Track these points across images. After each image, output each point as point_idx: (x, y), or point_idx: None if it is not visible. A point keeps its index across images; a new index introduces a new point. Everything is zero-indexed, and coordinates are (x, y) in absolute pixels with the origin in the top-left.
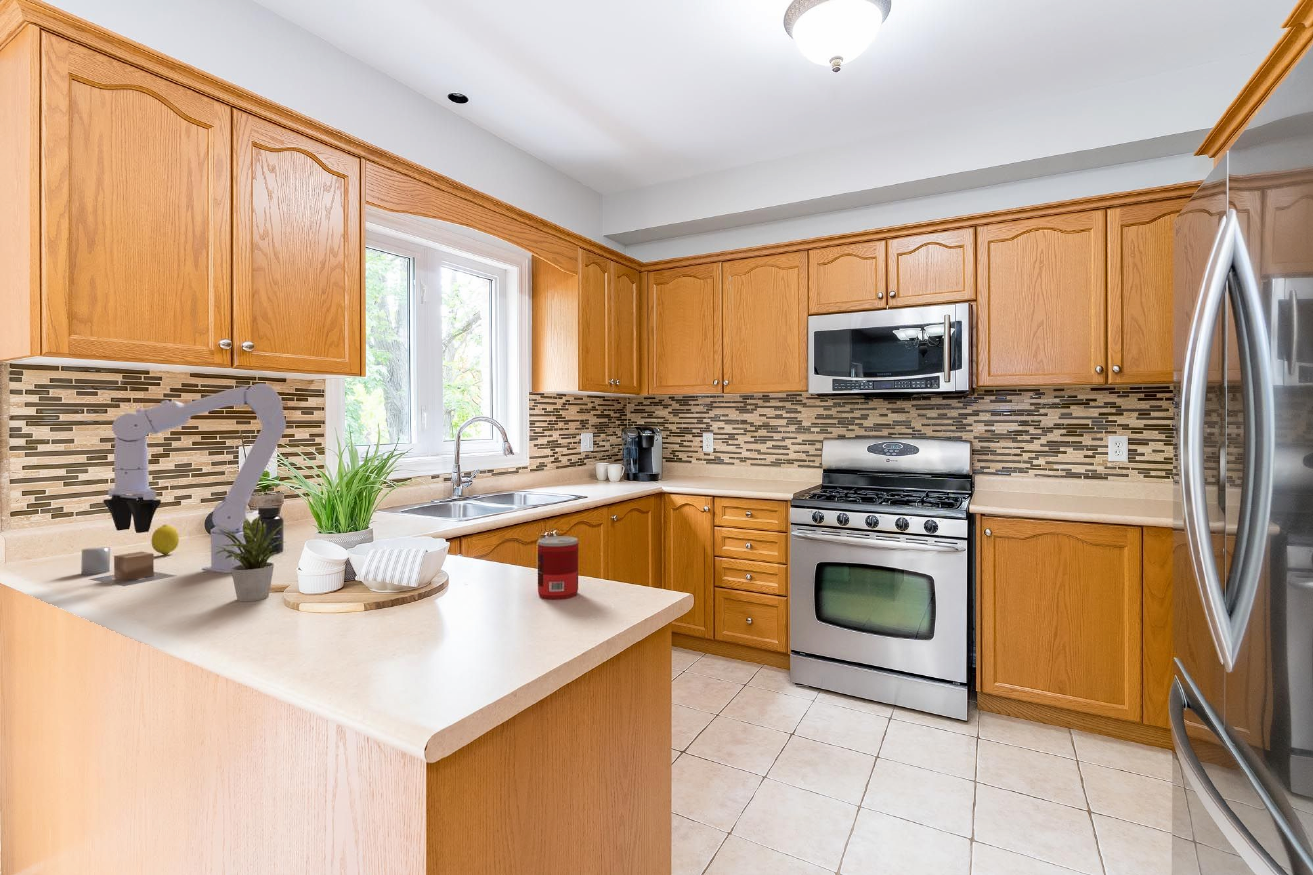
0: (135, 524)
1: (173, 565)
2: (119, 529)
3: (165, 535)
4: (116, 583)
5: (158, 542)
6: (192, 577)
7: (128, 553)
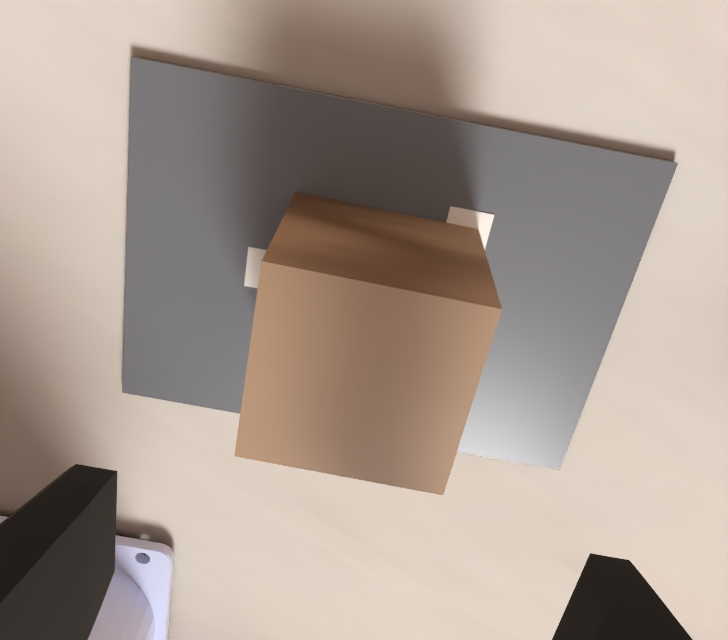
0: (4, 539)
1: (489, 596)
2: (591, 575)
3: None
4: (290, 112)
5: None
6: (8, 394)
7: (466, 412)
